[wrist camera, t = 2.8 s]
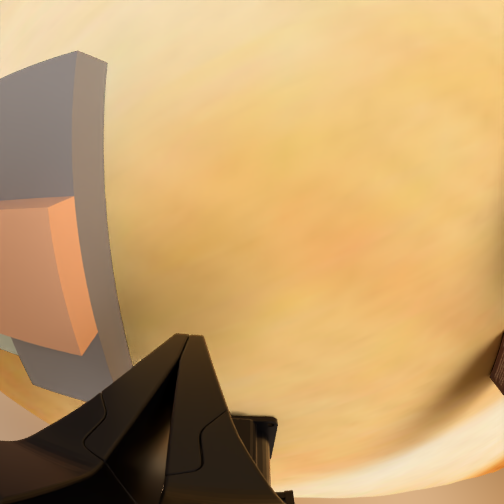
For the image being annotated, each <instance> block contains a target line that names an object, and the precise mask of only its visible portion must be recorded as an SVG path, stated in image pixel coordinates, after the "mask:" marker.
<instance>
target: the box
mask: <svg viewBox="0 0 504 504" xmlns="http://www.w3.org/2000/svg"><path fill="white" fill-rule="evenodd" d="M490 378H491V380H492V381H493V382H494V383H495V385H496V386H497V387H498V389H499V390H500V391H501V393H502V394H503V395H504V336H503V340H502V343H501V347H500V350H499V353H498V356H497V359H496V362H495V365H494V367H493V370H492V373H491V375H490Z"/></svg>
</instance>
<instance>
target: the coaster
mask: <svg viewBox="0 0 504 504" xmlns="http://www.w3.org/2000/svg"><path fill="white" fill-rule="evenodd" d="M97 333H98V330H97V327H96V323H95V319H94V315H93V311H92V307H91V302H90V298H89V293H88V288H87V284H86V278H85V273H84V268H83V262H82V256H81V250H80V243H79V236H78V228H77V220H76V211H75V200H74V196H67V197H47V198H30V199H16V200H4V201H0V334H3V335H6V336H9V337H12V338H15V339H19V340H22V341H25V342H29V343H32V344H36V345H39V346H43V347H47V348H50V349H54V350H58V351H62V352H66V353H71V354H75V355H79V356H82V355H83V354H84V352H85V351H86V349H87V348H88V346H89V345H90V343H91V342H92V340H93V339H94V337H95V336H96V334H97Z"/></svg>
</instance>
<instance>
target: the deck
mask: <svg viewBox="0 0 504 504" xmlns="http://www.w3.org/2000/svg"><path fill="white" fill-rule="evenodd" d="M106 72H107V62H104V61H102V60H100V59H97V58H95V57H92V56H90V55H87V54H85V53H82V52H80V51H75V52H71V53H68V54H64V55H61V56H58V57H55V58H52V59H49V60H46V61H43V62H40V63H37V64H35V65H32V66H29V67H27V68H24V69H22V70H19V71H17V72H14V73H12V74H10V75H7V76H5V77H3V78H1V79H0V201H4V200H16V199H30V198H47V197H67V196H74V200H75V211H76V220H77V228H78V236H79V243H80V250H81V256H82V262H83V268H84V273H85V278H86V284H87V288H88V293H89V298H90V302H91V307H92V311H93V315H94V319H95V323H96V327H97V330H98V333H97V334H96V336H95V337H94V339H93V340H92V342H91V343H90V345H89V346H88V348H87V349H86V351H85V352H84V354H83V355H82V356H79V355H75V354H71V353H66V352H62V351H58V350H54V349H50V348H47V347H43V346H39V345H36V344H32V343H29V342H25V341H22V340H19V339H15V338H12V337H11V339H12V341H13V344H14V346H15V348H16V351H17V353H18V355H19V357H20V359H21V362H22V364H23V366H24V368H25V370H26V372H27V374H28V376H29V378H30V380H31V382H32V384H33V385H35V386H38V387H41V388H44V389H47V390H50V391H53V392H56V393H59V394H62V395H65V396H69V397H72V398H75V399H79V400H82V401H86V402H88V401H89V400H90V399H92V398H93V397H94V396H96V395H97V394H98V393H102V390H104V389H105V388H106V387H108V386H109V385H110V384H112V383H113V382H114V381H115V380H117V379H118V378H119V377H121V376H122V375H123V374H124V373H126V372H127V371H128V370H130V369H131V368H132V367H133V366H132V362H131V358H130V354H129V350H128V346H127V342H126V337H125V333H124V328H123V323H122V319H121V314H120V309H119V303H118V298H117V292H116V286H115V280H114V274H113V267H112V260H111V252H110V244H109V235H108V225H107V214H106V201H105V185H104V155H103V129H104V100H105V84H106Z"/></svg>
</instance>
